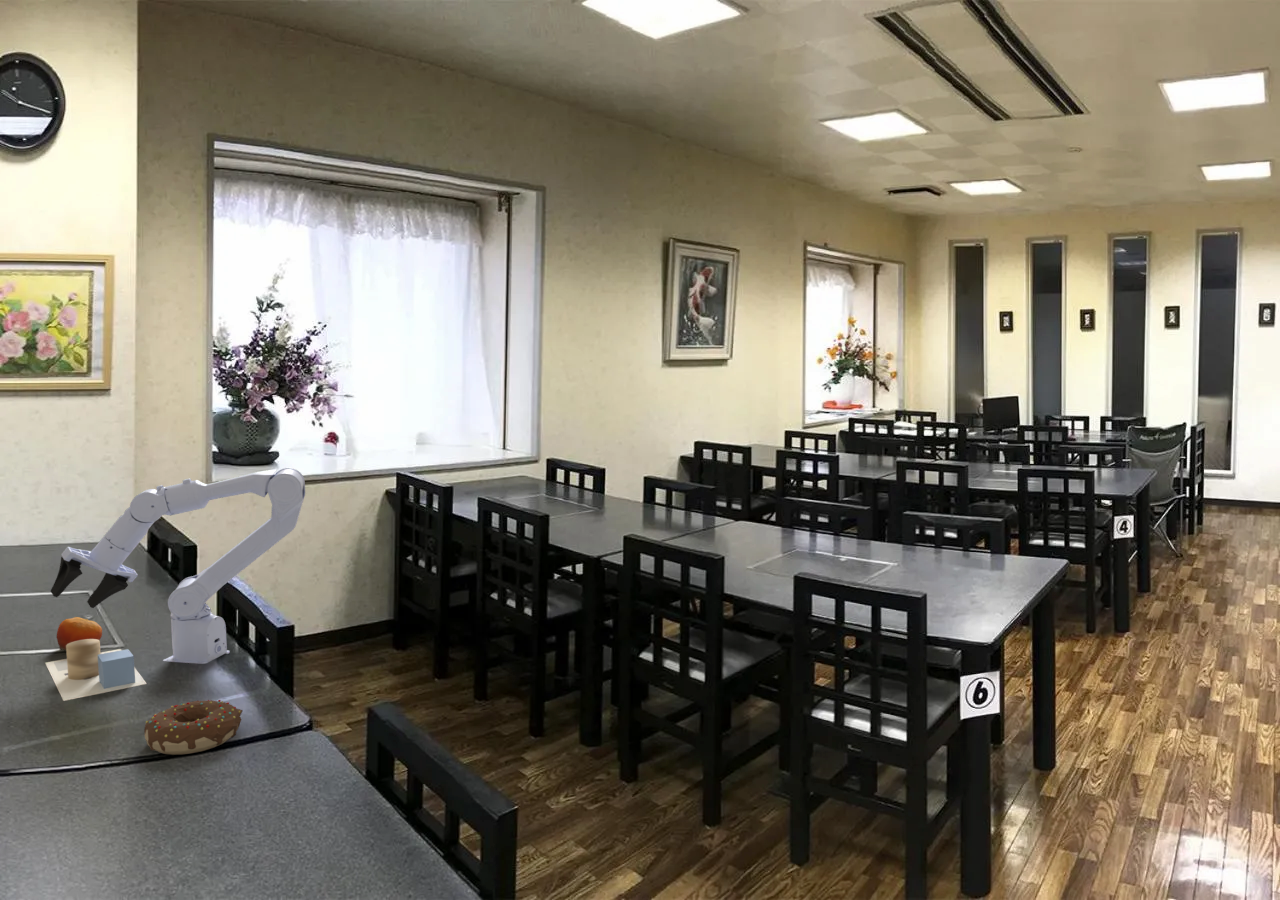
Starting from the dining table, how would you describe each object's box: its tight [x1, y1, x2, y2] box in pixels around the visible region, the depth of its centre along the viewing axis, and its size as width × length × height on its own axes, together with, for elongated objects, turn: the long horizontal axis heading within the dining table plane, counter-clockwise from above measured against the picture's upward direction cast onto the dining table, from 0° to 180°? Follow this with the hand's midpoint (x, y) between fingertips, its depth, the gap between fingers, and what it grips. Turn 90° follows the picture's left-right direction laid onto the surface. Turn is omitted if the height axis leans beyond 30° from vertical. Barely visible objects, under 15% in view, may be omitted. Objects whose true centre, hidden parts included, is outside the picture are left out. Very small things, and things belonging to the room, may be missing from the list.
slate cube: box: [98, 648, 136, 689], centre depth 168 cm, size 5×5×5 cm
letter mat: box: [44, 648, 147, 702], centre depth 173 cm, size 13×25×1 cm, turn 39°
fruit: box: [56, 616, 103, 651], centre depth 187 cm, size 8×8×8 cm
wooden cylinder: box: [65, 639, 101, 680], centre depth 172 cm, size 5×5×6 cm
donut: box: [143, 699, 243, 756], centre depth 145 cm, size 14×14×5 cm
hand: (72, 599), depth 176 cm, fingers open, 7 cm apart
